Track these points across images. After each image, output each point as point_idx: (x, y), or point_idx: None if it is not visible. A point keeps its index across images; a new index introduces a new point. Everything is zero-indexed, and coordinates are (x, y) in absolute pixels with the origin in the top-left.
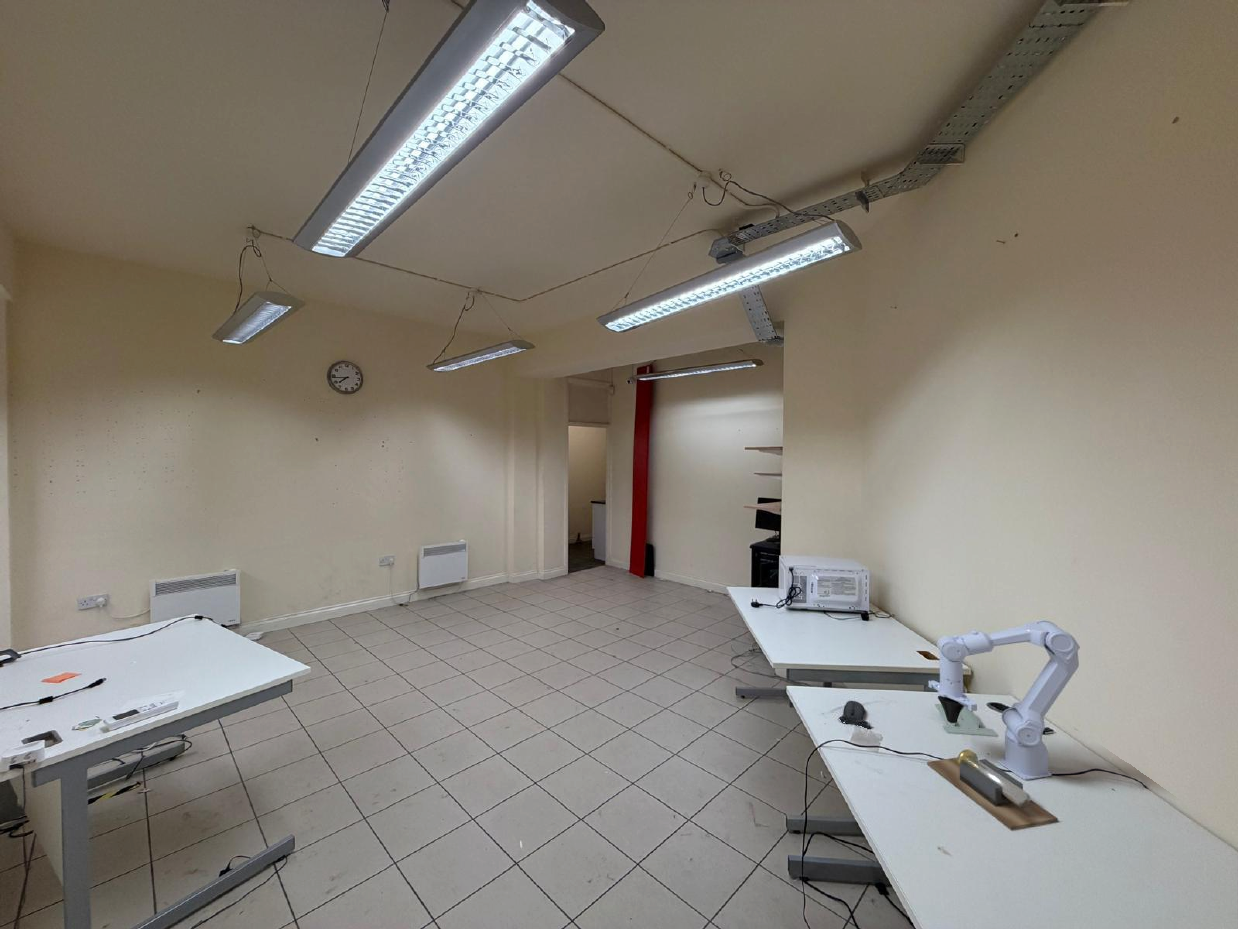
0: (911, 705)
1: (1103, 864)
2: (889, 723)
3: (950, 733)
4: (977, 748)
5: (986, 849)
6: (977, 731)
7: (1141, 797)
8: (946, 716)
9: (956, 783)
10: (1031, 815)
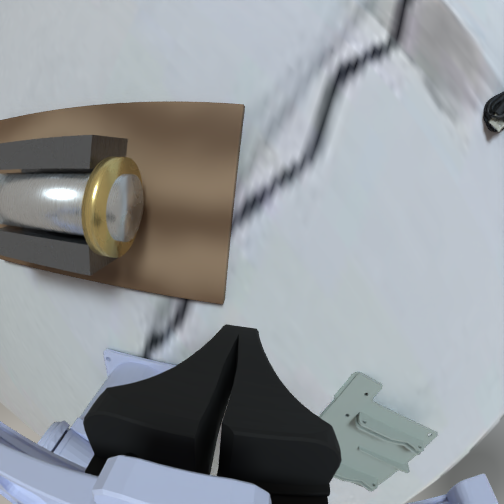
0: (482, 383)
1: None
2: (484, 224)
3: (350, 378)
4: None
5: (8, 31)
6: None
7: None
8: (254, 341)
9: (117, 108)
10: None
